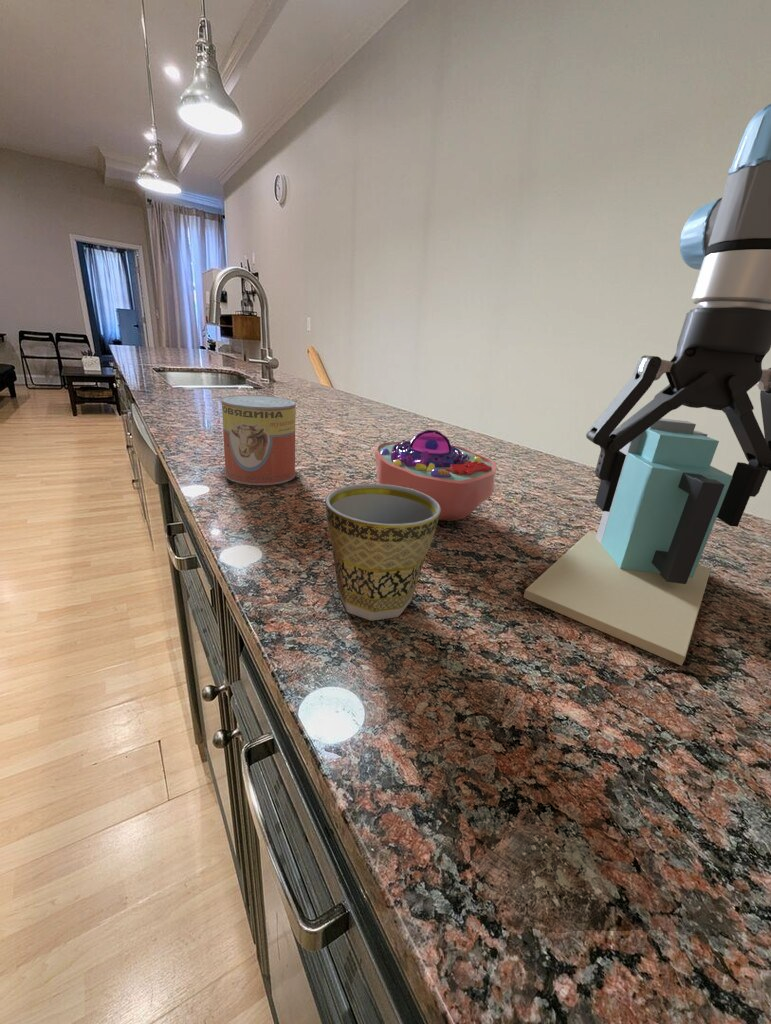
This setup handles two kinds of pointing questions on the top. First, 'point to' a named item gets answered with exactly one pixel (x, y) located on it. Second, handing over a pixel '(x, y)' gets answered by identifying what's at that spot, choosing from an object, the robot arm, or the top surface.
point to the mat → (622, 599)
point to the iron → (664, 501)
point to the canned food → (259, 439)
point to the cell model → (437, 472)
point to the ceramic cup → (379, 545)
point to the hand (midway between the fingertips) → (663, 514)
